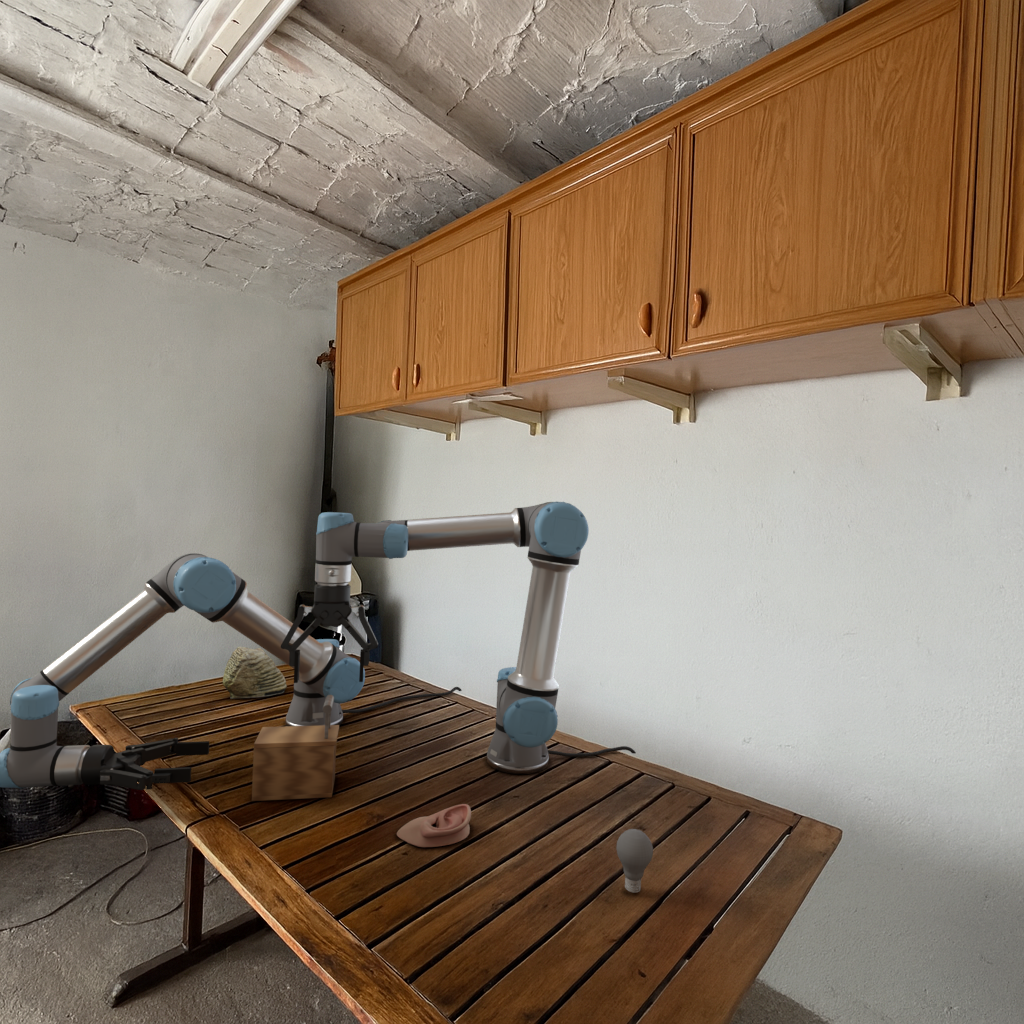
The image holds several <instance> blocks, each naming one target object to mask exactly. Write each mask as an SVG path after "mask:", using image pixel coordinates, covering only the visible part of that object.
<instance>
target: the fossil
mask: <svg viewBox="0 0 1024 1024" xmlns="http://www.w3.org/2000/svg"><path fill="white" fill-rule="evenodd" d="M222 676H223V677H222V685H223V687H224V688H225V690H226V691H228V693H229V698H230V699H250V698H264V697H271V696H275V695H281V694H284V693H285V691H286V689H287V687H288V686H287V680H286V678H285V676H284V674H283V673H282V672H281V669H279V668H278V667H277V665H276V663H275V662H274V660H273V659H272V658H271V657H270V656H269V655H268V654H267V653H266V652H265V649H264V648H262V647H258V648H251V647H247V646H246V647H245V646H238V647H237V648H236V649H235V650H233V651H232V653H231V656H230V657H229V659H228V660H227V663H226V666H225V668H224V671H223V675H222Z"/></svg>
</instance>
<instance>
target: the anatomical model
mask: <svg viewBox="0 0 1024 1024" xmlns="http://www.w3.org/2000/svg"><path fill="white" fill-rule="evenodd" d="M471 819H472V809H471V806H470V805H469V804H468V803H462V804H461V803H460V804H456V805H452V806H450V807H447V808H445V809H442V810H439V811H437V812H436V813H433V814H431V815H428V816H426V815H425V816H420V817H417V818H414V819H412V820H410V821H408V822H407V823H405V824H404V825H402V826H401V827H400V828H399V829H398V830H397V832H396V836H397V837H398V838H399V839H401V840H402V841H403V842H406V843H408V844H409V845H413V846H415V847H419V848H435V847H442V846H443V847H444V846H448V845H449V846H450V845H453V844H456V843H458V842H461V841H463V840H465V839H466V838H468V836H469V835H470V832H471V831H470V830H471V829H470V828H471V827H470V824H469V823H470V821H471Z"/></svg>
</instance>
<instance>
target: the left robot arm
mask: <svg viewBox="0 0 1024 1024" xmlns="http://www.w3.org/2000/svg"><path fill="white" fill-rule="evenodd" d="M184 606H185V608H187V609H189V610H191V611H194V612H195V613H197V614H198V615H200V616H202V617H203V618H204V619H206V620H207V621H209V622H211V623H213V624H214V623H218V622H223V623H224V624H225V625H227V626H229V627H231V628H232V629H233V630H235V631H237V632H238V633H240V634H241V635H243V636H244V637H245V638H247V639H249V640H250V641H251V642H253V643H255V644H256V645H258V646H259V647H260V648H261V649H263V650H264V651H267V652H268V653H269V654H271V655H272V656H274V657H275V658H277V659H279V660H280V661H282V662H283V663H285V664H286V665H288V666H289V667H290V668H292V669H294V666H290V665H289V654H290V653H289V651H288V650H286V649H282V648H281V644H282V642H283V641H284V639H285V637H286V635H287V634H288V632H289V630H290V628H291V626H292V625H293V623H294V622H292V621H291V620H289V619H287V618H286V617H284V616H283V615H282V614H280V613H279V612H278V611H276V610H275V609H274V608H272V607H271V606H269V605H267V603H265V602H264V601H262V600H261V599H259V597H257V596H256V595H254V594H253V593H251V592H250V591H249V590H248V583H247V581H245V580H244V579H243V578H242V577H240V576H239V575H238V574H236V573H235V572H233V571H232V569H230V567H229V566H228V565H227V564H226V563H225V562H223V561H221V560H220V559H216V558H213V557H209V556H207V555H205V554H202V553H195V552H193V553H192V552H191V553H185V554H182V555H180V556H177V557H176V558H174V559H173V560H172V561H170V562H169V563H168V564H167V565H165V566H164V567H163V568H162V569H160V570H159V571H158V572H156V574H155V575H153V576H152V577H151V578H150V579H149V580H147V581H146V582H145V583H144V586H143V589H142V591H141V592H139V593H138V594H137V595H135V596H134V597H133V598H131V599H130V600H129V601H128V602H126V603H125V604H124V605H123V606H122V607H120V608H119V609H117V610H116V611H115V612H114V613H113V614H111V615H110V616H109V617H107V618H106V619H105V620H103V621H102V622H101V623H100V624H99V625H97V626H96V627H94V628H93V629H92V630H91V631H90V632H88V633H87V634H86V635H84V636H83V637H82V638H81V639H80V640H78V641H77V642H76V643H74V644H73V645H72V646H71V647H69V648H68V649H67V650H65V651H64V652H63V653H62V654H60V655H59V656H58V657H56V659H54V660H53V661H51V662H50V663H48V665H47V666H45V667H44V668H42V670H40V671H39V672H37V673H36V674H35V675H34V676H32V677H28V678H26V679H23V680H22V681H20V682H19V683H17V685H16V686H15V687H14V688H13V690H12V692H11V694H10V697H9V705H10V744H9V745H10V746H9V747H7V748H5V749H2V751H0V788H6V789H7V788H8V789H9V788H10V789H13V788H14V789H26V788H27V789H28V788H41V787H62V786H63V787H64V786H67V788H73V787H74V786H81V785H83V784H84V785H86V786H90V785H92V786H93V785H111V786H116V787H120V788H126V789H127V788H128V789H132V790H137V791H144V790H147V791H149V790H152V789H153V788H154V787H153V785H154V784H155V785H158V784H159V785H160V784H161V785H162V784H180V783H181V784H183V783H185V784H186V783H191V781H192V766H190V767H189V766H186V767H163V768H161V767H160V768H155V769H154V771H153V770H151V769H149V768H146V767H143V766H144V765H146V763H147V762H151V761H154V760H158V759H162V758H166V757H169V756H172V755H175V756H176V757H181V756H206V755H207V756H208V755H209V754H210V740H205V741H203V740H202V741H179V738H178V737H173V738H168V739H162V740H156V741H151V742H145V743H140V744H128V745H125V750H122V751H118V752H117V751H116V750H115V748H114V746H113V745H112V744H93V745H91V746H90V745H89V744H80V745H79V744H78V745H77V744H76V745H58V725H59V724H58V722H59V707H60V702H61V701H62V700H63V699H64V698H66V696H68V695H69V694H70V693H72V691H74V689H76V688H77V687H79V686H80V685H81V684H82V683H83V682H85V681H86V680H87V679H88V678H90V677H91V676H92V675H93V674H95V673H96V672H97V671H98V670H100V669H101V668H103V666H104V665H105V664H107V663H108V662H109V661H111V660H112V659H113V658H114V657H115V656H117V655H118V654H119V653H120V652H121V651H122V650H124V649H125V648H127V646H129V645H130V644H131V643H133V642H134V641H135V640H137V638H138V637H140V636H141V635H143V633H145V632H146V631H148V629H150V628H151V627H153V625H154V624H156V623H157V622H158V621H159V620H162V618H163V617H164V616H166V615H167V614H174V613H175V614H176V612H177V611H179V610H180V609H181V608H183V607H184ZM304 631H305V630H303V629H301V628H300V627H299V626H298V628H297V630H296V631H295V633H294V635H293V637H292V638H291V640H290V642H289V643H291V644H293V643H294V642H295V641H296V640H297V639H298V638H299V637H300V635H301V634H302V633H303V632H304ZM340 647H341V646H340V642H339V640H338V639H334V638H323V639H322V638H319V639H315V638H314V637H312V636H311V634H310V635H309V636H308V637H307V638H306V639H305V640H304V641H303V643H302V644H301V645H300V646H299V647H298V648H297V649H296V650H300V666H299V680H298V683H294V682H293V695H292V696H293V697H292V699H291V702H290V704H289V708H288V711H287V713H286V715H285V726H321V725H325V714H326V713H324V712H323V706H324V703H325V699H326V697H327V696H328V695H333V696H334V702H333V706H332V710H331V723H330V725H339V726H340V725H342V723H343V722H344V714H359V713H365V712H368V711H371V710H372V711H373V710H374V709H379V708H382V707H385V706H387V705H390V704H393V703H396V702H400V701H405V700H411V699H412V700H413V699H420V698H431V697H433V698H434V697H442V696H444V697H445V696H449V695H451V694H453V692H455V691H457V692H462V691H463V690H462V689H461V688H460V687H459V686H454V687H453V688H452V689H450V690H449V691H443V692H438V693H437V692H436V693H423V694H413V695H405V696H401V697H396V698H392V699H389V700H387V701H384V702H381V703H378V704H377V703H376V704H374V705H371V706H367V707H364V708H358V709H357V708H356V709H342V706H341V704H344V703H345V704H346V703H347V702H351V701H352V700H354V699H355V698H356V697H357V696H358V695H359V694H360V693H361V692H362V689H363V687H364V685H365V682H366V671H365V668H364V669H363V682H359V675H360V660H358V659H357V658H356V657H352V656H350V655H349V654H347V653H346V652H344V651H343V650H341V649H340Z"/></svg>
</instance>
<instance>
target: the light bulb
mask: <svg viewBox="0 0 1024 1024" xmlns="http://www.w3.org/2000/svg"><path fill="white" fill-rule="evenodd" d="M615 849H616V854H617V857H618V859H619V861H620V863H621V865H622V867H623V873H624V874H623V875H624V876H625V878H624V888H625V890H627V891H628V892H630V893H634V894H635V893H639V892H640V891H641V889H642V887H641V886H642V879H643V877H644V875H645V871H646V868H647V867H648V866H649V864H650V863H651V861H652V859H653V855H654V847H653V843H652V841H651V838H649V836H648V835H647V834H646V833H645V832H643V831H642V830H641V829H636V828H629V829H627V830H625V831H623V832H622V833H621V834H620V835H619V837H618V839H617V841H616V847H615Z"/></svg>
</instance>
